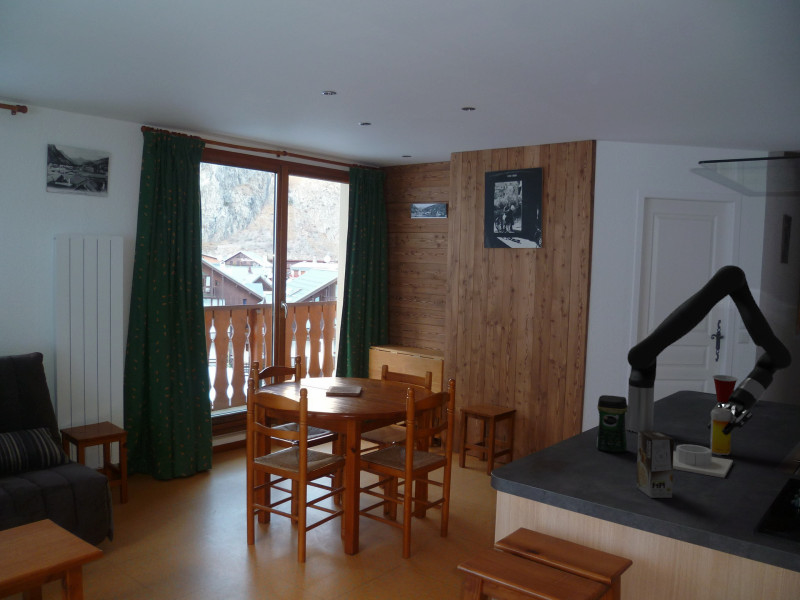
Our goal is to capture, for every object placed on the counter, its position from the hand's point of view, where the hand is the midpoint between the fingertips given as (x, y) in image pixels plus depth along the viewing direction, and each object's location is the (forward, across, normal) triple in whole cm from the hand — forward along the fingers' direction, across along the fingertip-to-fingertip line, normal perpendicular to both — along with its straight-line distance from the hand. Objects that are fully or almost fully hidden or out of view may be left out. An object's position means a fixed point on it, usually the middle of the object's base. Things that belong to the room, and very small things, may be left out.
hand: (716, 430), depth 214 cm
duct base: (+17, +8, -6) cm, 20 cm away
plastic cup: (-44, -73, +56) cm, 102 cm away
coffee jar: (+28, -12, -17) cm, 35 cm away
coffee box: (+38, +28, -26) cm, 54 cm away
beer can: (+4, 0, +7) cm, 8 cm away
